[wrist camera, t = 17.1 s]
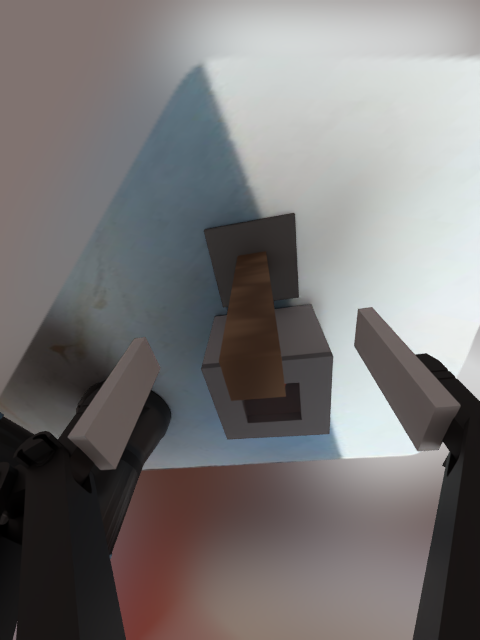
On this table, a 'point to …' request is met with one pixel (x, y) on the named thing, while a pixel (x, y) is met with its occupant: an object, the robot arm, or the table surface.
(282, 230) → the mat
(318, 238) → the table surface
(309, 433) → the grey box with opening
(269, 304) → the wooden stick
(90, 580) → the robot arm
